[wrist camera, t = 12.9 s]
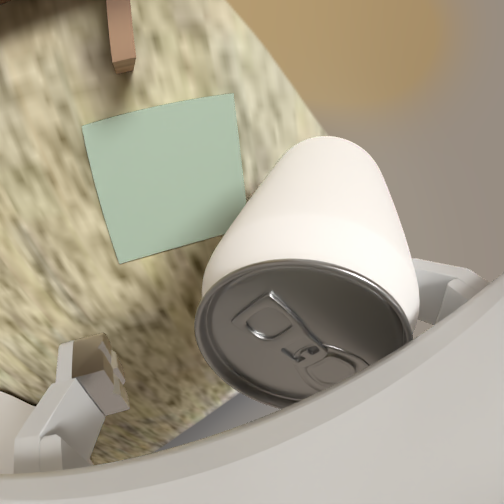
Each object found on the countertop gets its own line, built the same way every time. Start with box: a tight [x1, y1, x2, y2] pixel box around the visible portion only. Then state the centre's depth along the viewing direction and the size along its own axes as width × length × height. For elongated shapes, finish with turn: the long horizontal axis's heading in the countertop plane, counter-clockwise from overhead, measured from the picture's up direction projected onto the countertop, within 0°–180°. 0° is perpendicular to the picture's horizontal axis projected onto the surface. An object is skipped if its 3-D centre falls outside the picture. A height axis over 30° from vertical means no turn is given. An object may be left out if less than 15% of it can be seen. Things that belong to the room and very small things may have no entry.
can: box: [194, 136, 420, 409], centre depth 12 cm, size 6×6×12 cm
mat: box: [82, 93, 246, 264], centre depth 22 cm, size 11×11×1 cm
